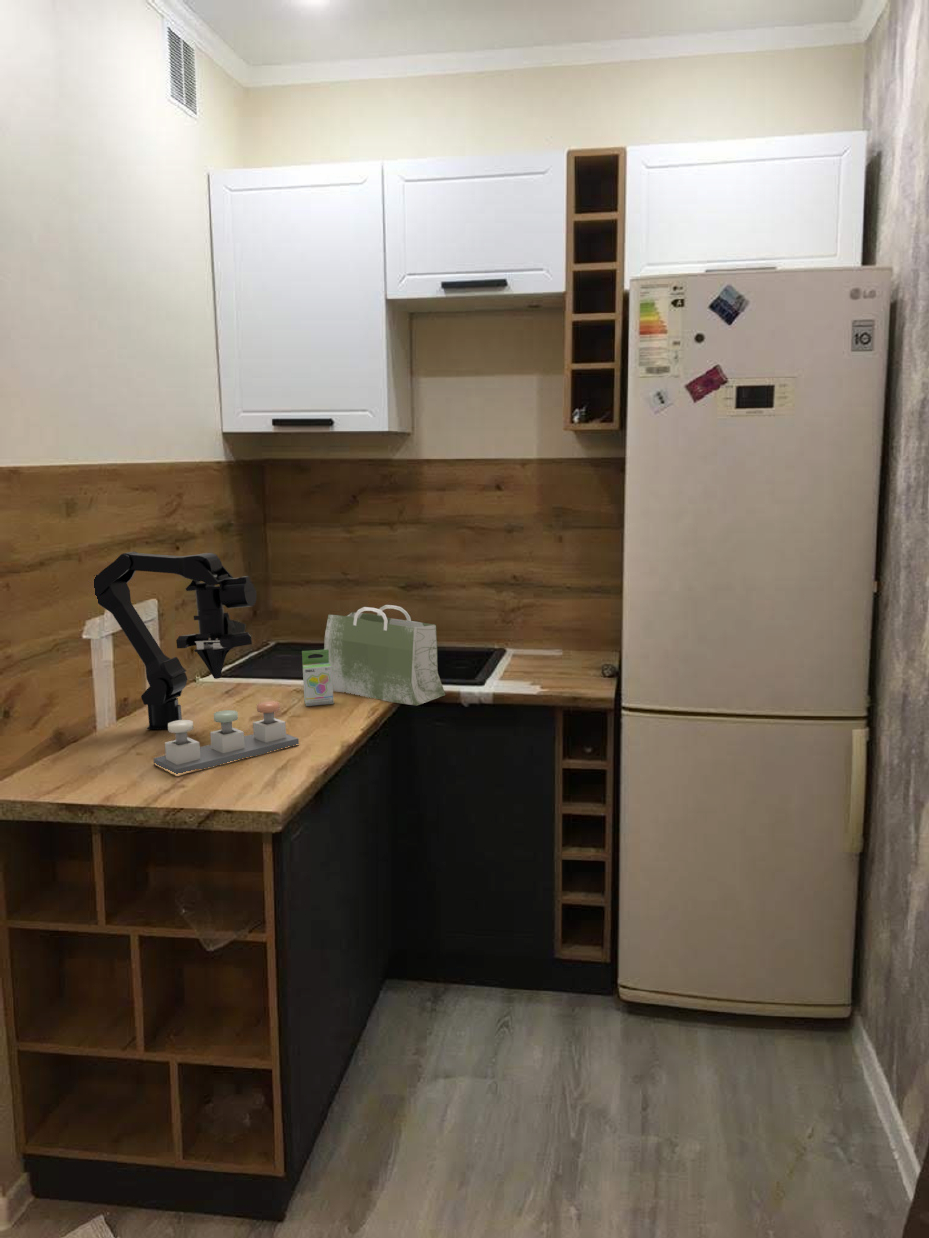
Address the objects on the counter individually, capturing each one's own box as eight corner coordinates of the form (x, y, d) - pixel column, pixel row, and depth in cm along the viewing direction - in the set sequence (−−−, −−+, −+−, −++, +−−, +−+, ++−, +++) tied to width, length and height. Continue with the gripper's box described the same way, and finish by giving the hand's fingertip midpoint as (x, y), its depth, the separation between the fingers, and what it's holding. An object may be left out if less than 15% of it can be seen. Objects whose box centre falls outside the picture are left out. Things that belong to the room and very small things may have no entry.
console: (154, 765, 191) (152, 741, 190) (274, 735, 209) (272, 713, 209) (176, 776, 184) (174, 752, 183) (298, 745, 202) (297, 722, 201)
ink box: (305, 706, 233) (303, 654, 231) (304, 703, 237) (301, 651, 235) (333, 704, 235) (331, 651, 233) (331, 700, 239) (329, 648, 236)
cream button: (165, 745, 189) (163, 723, 188) (187, 740, 192) (186, 718, 192) (176, 750, 186) (174, 727, 185) (198, 745, 189) (196, 722, 188)
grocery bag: (448, 694, 243) (446, 605, 239) (415, 706, 231) (412, 613, 227) (355, 679, 261) (351, 597, 257) (320, 690, 250) (316, 604, 246)
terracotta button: (253, 724, 202) (252, 704, 202) (273, 720, 206) (271, 699, 205) (265, 729, 199) (264, 708, 198) (284, 724, 202) (283, 703, 201)
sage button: (211, 734, 196) (209, 713, 195) (231, 729, 199) (230, 708, 198) (222, 739, 192) (220, 717, 192) (243, 734, 196) (241, 713, 195)
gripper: (266, 604, 212) (272, 673, 214) (209, 607, 223) (216, 672, 224) (229, 609, 203) (236, 680, 204) (171, 612, 213) (178, 680, 215)
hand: (217, 678), depth 212 cm, fingers closed
